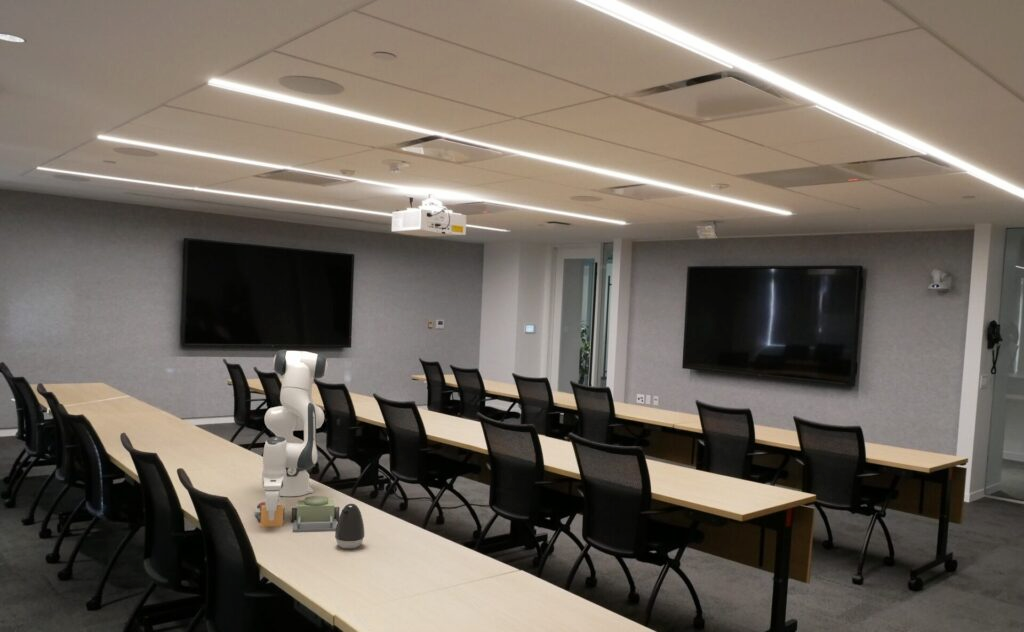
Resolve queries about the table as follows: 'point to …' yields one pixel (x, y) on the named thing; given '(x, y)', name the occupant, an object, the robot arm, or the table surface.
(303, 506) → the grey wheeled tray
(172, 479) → the table surface
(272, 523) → the orange cardboard box
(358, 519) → the pump dispenser
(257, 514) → the walkie-talkie
